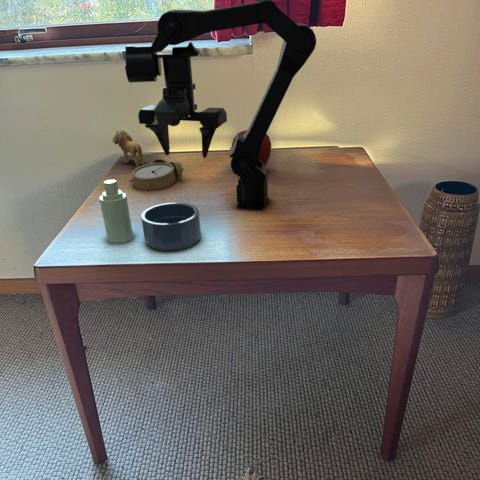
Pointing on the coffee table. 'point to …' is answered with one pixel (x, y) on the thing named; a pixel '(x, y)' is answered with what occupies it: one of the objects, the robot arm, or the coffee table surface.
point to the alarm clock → (156, 174)
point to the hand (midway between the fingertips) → (186, 156)
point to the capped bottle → (115, 214)
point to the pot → (171, 226)
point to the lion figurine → (128, 146)
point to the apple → (264, 149)
